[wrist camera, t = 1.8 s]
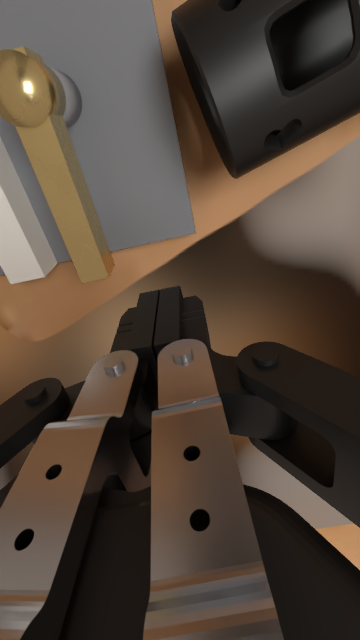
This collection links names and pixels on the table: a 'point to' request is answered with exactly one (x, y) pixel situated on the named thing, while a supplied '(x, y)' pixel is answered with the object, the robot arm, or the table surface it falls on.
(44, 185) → the swing bar
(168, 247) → the table surface
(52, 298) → the table surface
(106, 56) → the lock board
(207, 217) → the table surface
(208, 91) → the muzzle brake
